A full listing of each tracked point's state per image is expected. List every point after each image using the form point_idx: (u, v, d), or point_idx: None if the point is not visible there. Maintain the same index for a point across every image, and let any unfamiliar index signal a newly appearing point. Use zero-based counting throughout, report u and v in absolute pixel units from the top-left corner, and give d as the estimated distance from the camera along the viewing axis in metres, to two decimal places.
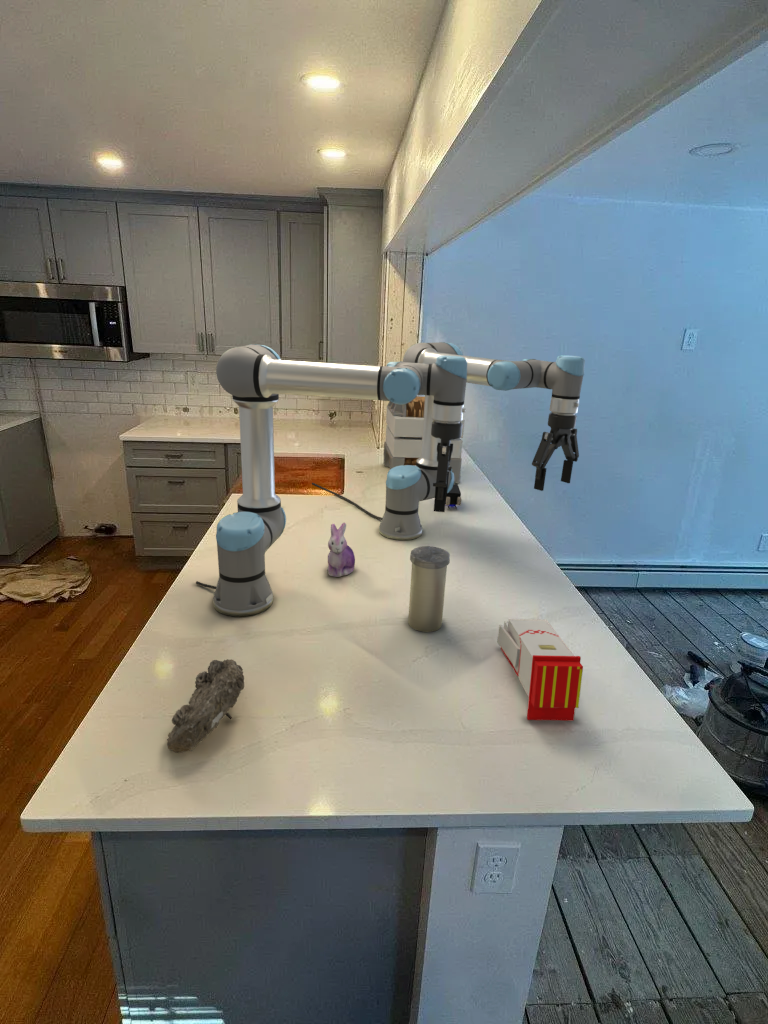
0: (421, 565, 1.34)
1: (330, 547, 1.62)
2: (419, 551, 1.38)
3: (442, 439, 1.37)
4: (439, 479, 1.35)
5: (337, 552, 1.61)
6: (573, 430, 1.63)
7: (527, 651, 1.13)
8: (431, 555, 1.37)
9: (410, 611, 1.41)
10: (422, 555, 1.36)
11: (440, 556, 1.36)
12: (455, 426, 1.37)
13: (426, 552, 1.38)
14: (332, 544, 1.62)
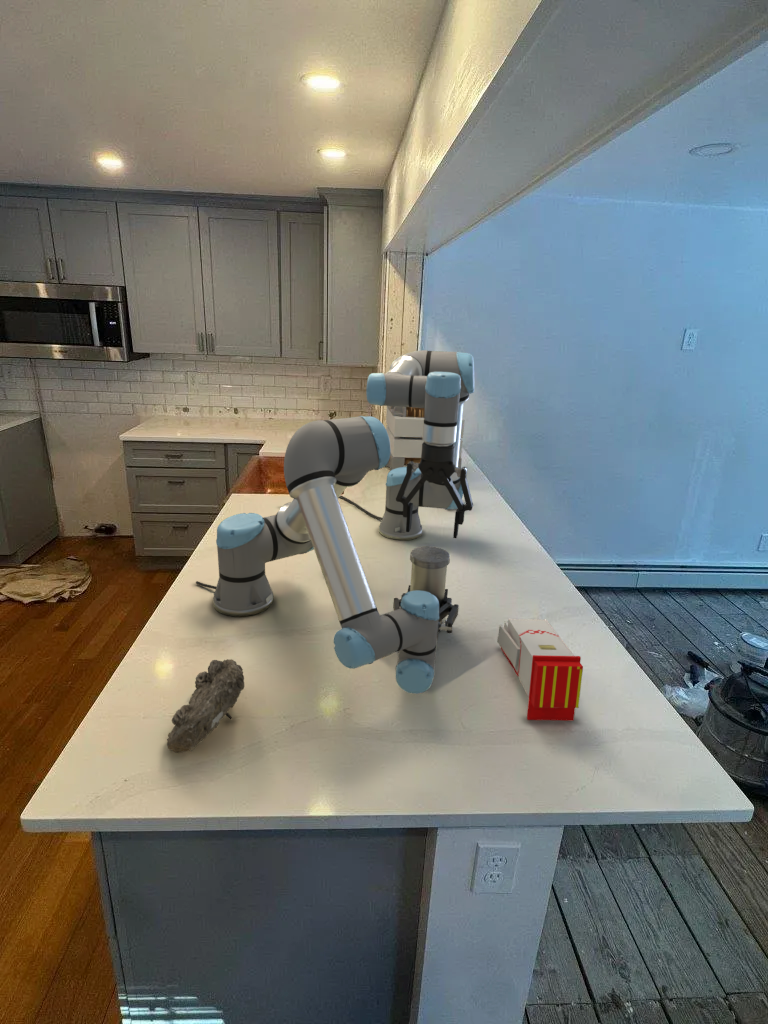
0: (421, 565, 1.34)
1: None
2: (419, 551, 1.38)
3: None
4: None
5: None
6: None
7: (527, 651, 1.13)
8: (431, 555, 1.37)
9: None
10: (422, 555, 1.36)
11: (440, 556, 1.36)
12: None
13: (426, 552, 1.38)
14: None
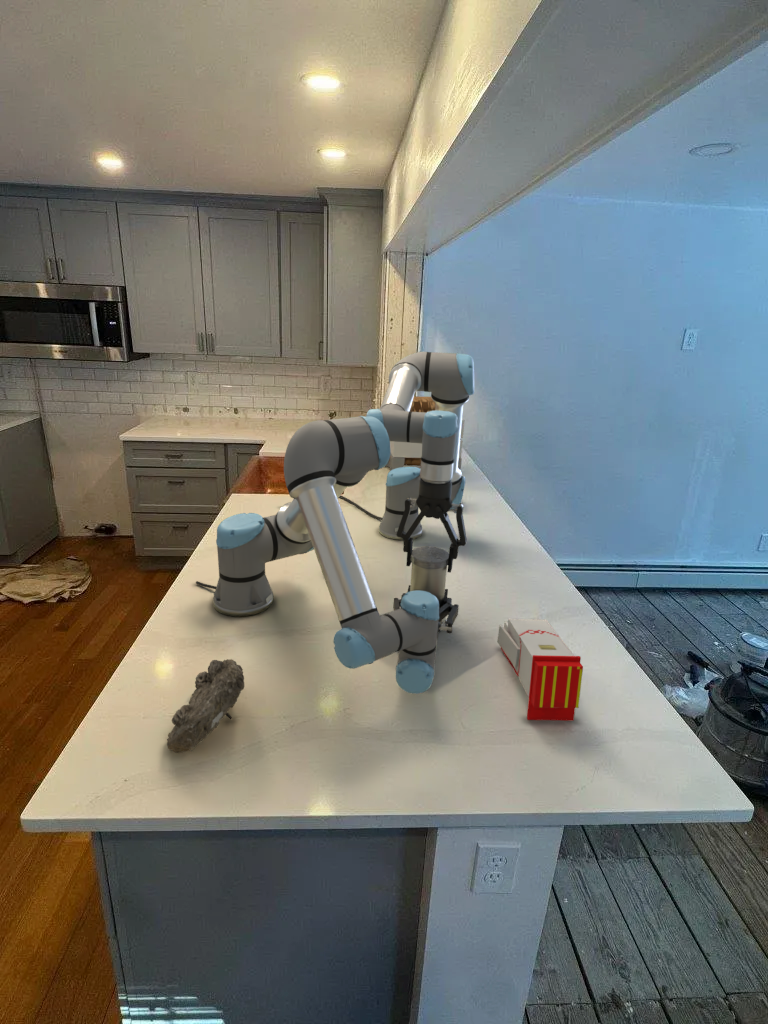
0: (421, 565, 1.34)
1: None
2: (419, 551, 1.38)
3: None
4: None
5: None
6: None
7: (527, 651, 1.13)
8: (431, 555, 1.37)
9: None
10: (422, 555, 1.36)
11: (440, 556, 1.36)
12: None
13: (426, 552, 1.38)
14: None
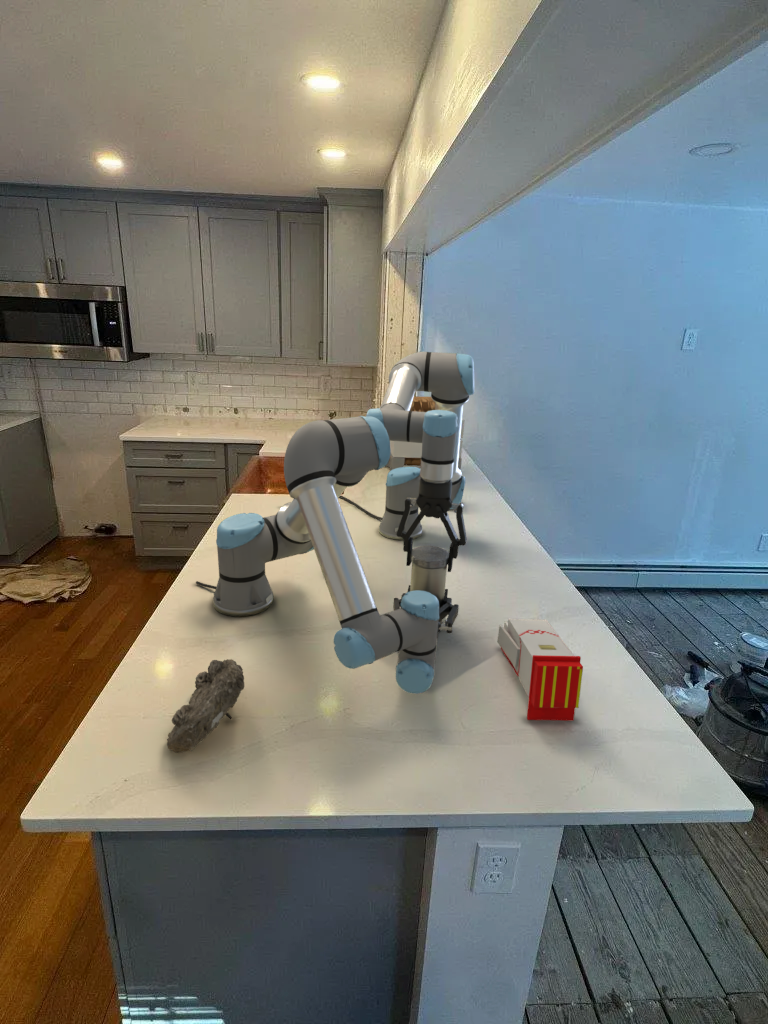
0: None
1: None
2: (433, 558, 1.35)
3: None
4: None
5: None
6: None
7: (527, 651, 1.13)
8: (432, 552, 1.38)
9: None
10: (438, 555, 1.36)
11: (428, 548, 1.40)
12: None
13: (430, 555, 1.36)
14: None
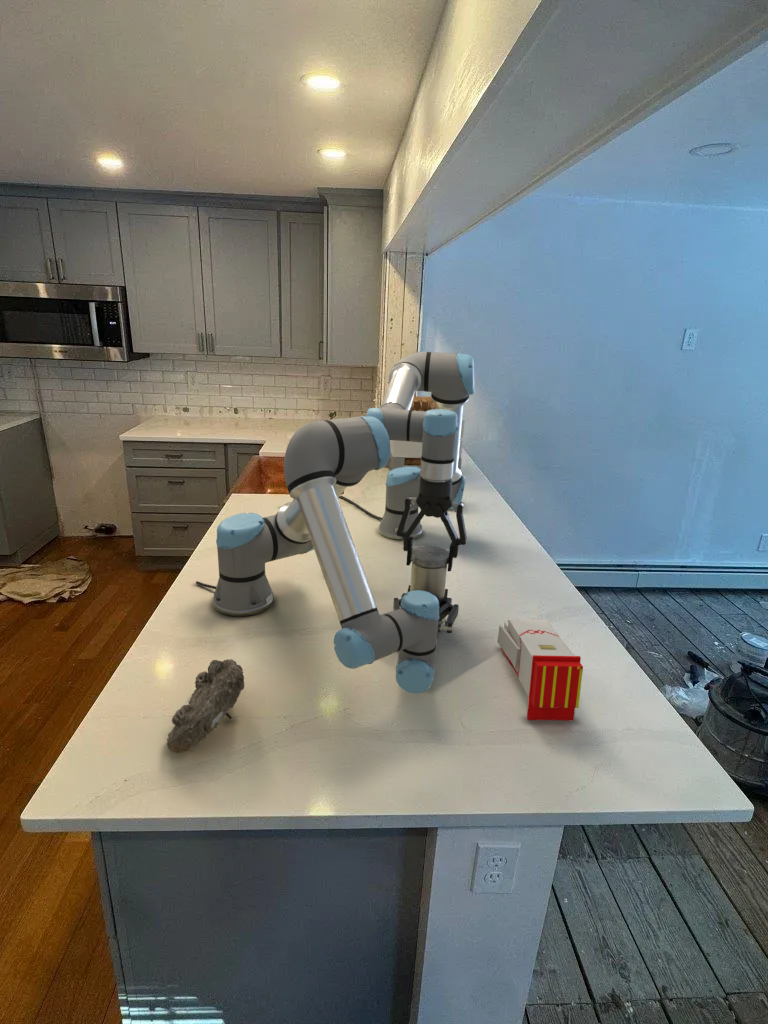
0: None
1: None
2: (437, 549, 1.39)
3: None
4: None
5: None
6: (411, 498, 1.35)
7: (527, 651, 1.13)
8: (426, 552, 1.37)
9: None
10: (428, 549, 1.39)
11: (422, 555, 1.36)
12: None
13: (434, 552, 1.38)
14: None
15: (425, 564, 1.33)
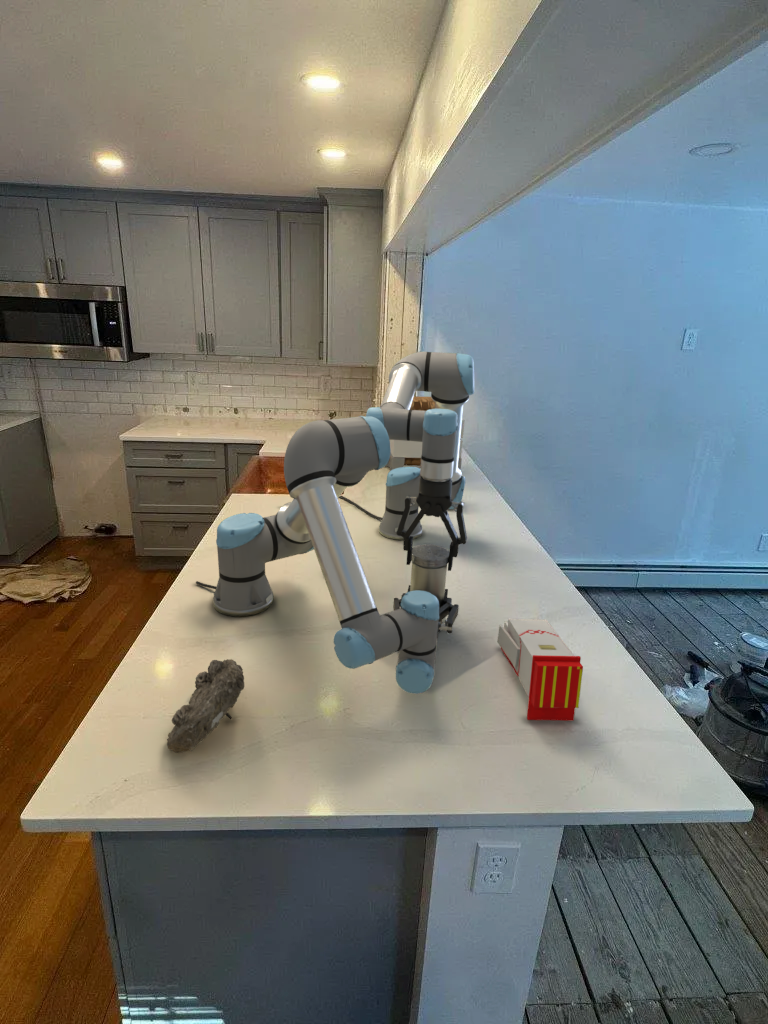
0: (426, 564, 1.33)
1: None
2: (418, 550, 1.38)
3: None
4: None
5: None
6: None
7: (527, 651, 1.13)
8: (432, 553, 1.36)
9: None
10: (424, 554, 1.36)
11: (441, 553, 1.37)
12: None
13: (426, 551, 1.38)
14: None
15: None
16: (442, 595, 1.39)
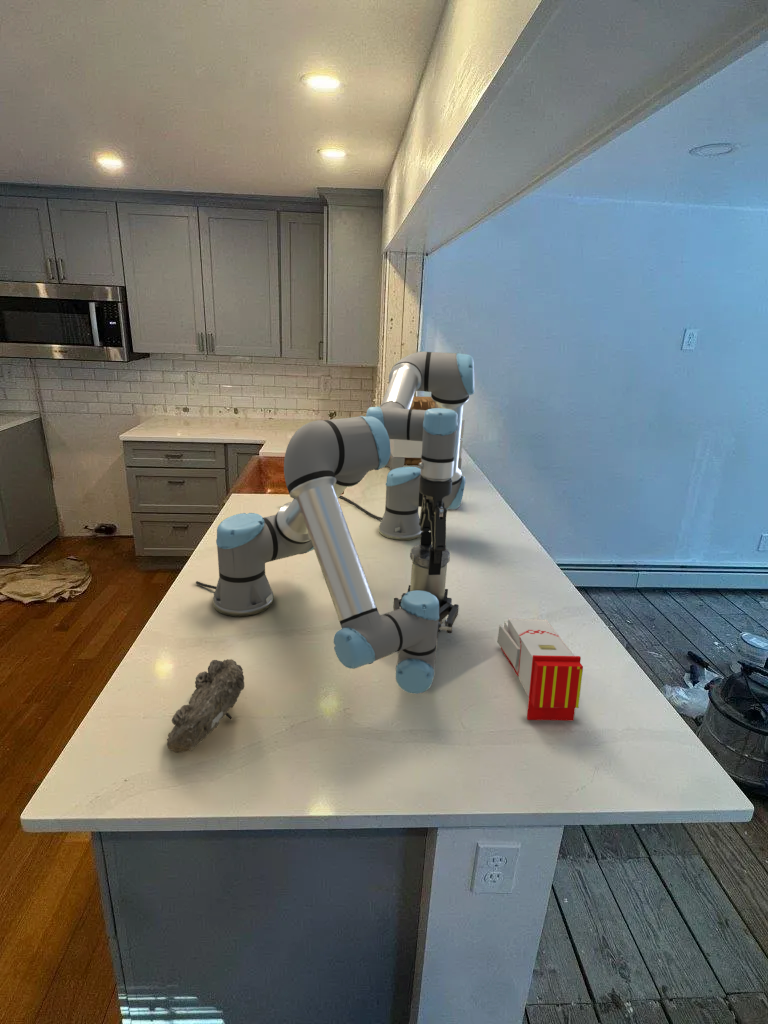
0: None
1: None
2: None
3: None
4: None
5: None
6: None
7: (527, 651, 1.13)
8: None
9: None
10: None
11: (427, 547, 1.40)
12: None
13: None
14: None
15: None
16: (442, 595, 1.39)
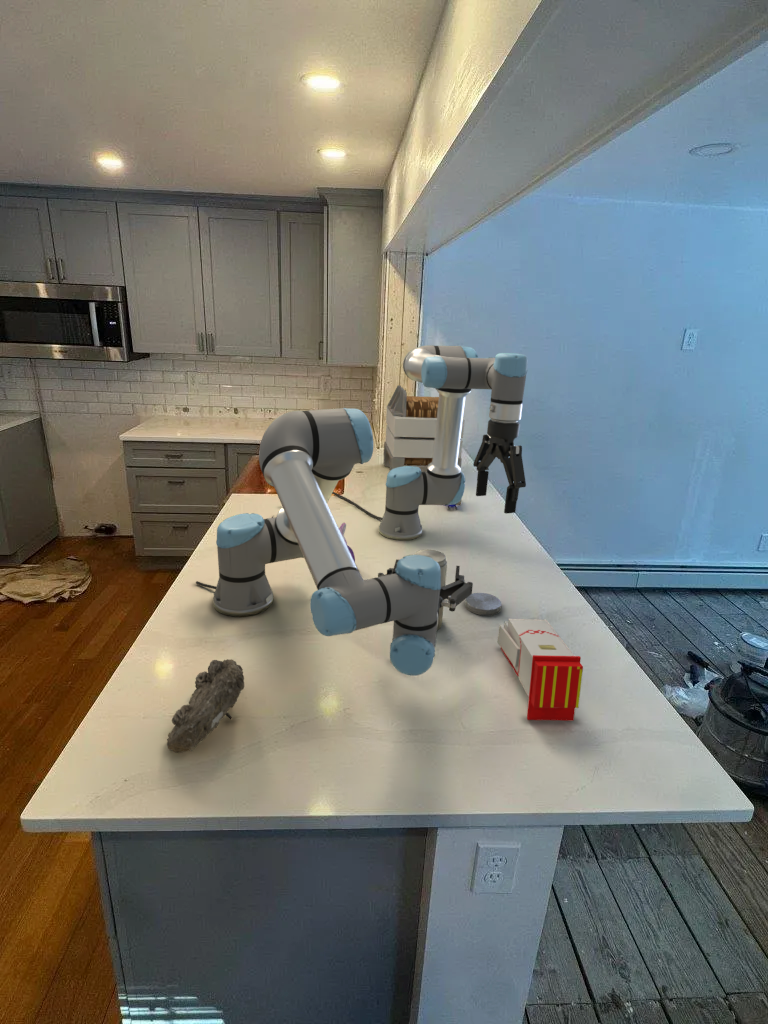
0: None
1: None
2: (489, 605, 1.50)
3: None
4: None
5: None
6: None
7: (527, 651, 1.13)
8: (484, 599, 1.53)
9: None
10: (492, 602, 1.52)
11: (478, 596, 1.55)
12: None
13: (484, 603, 1.51)
14: None
15: None
16: None
